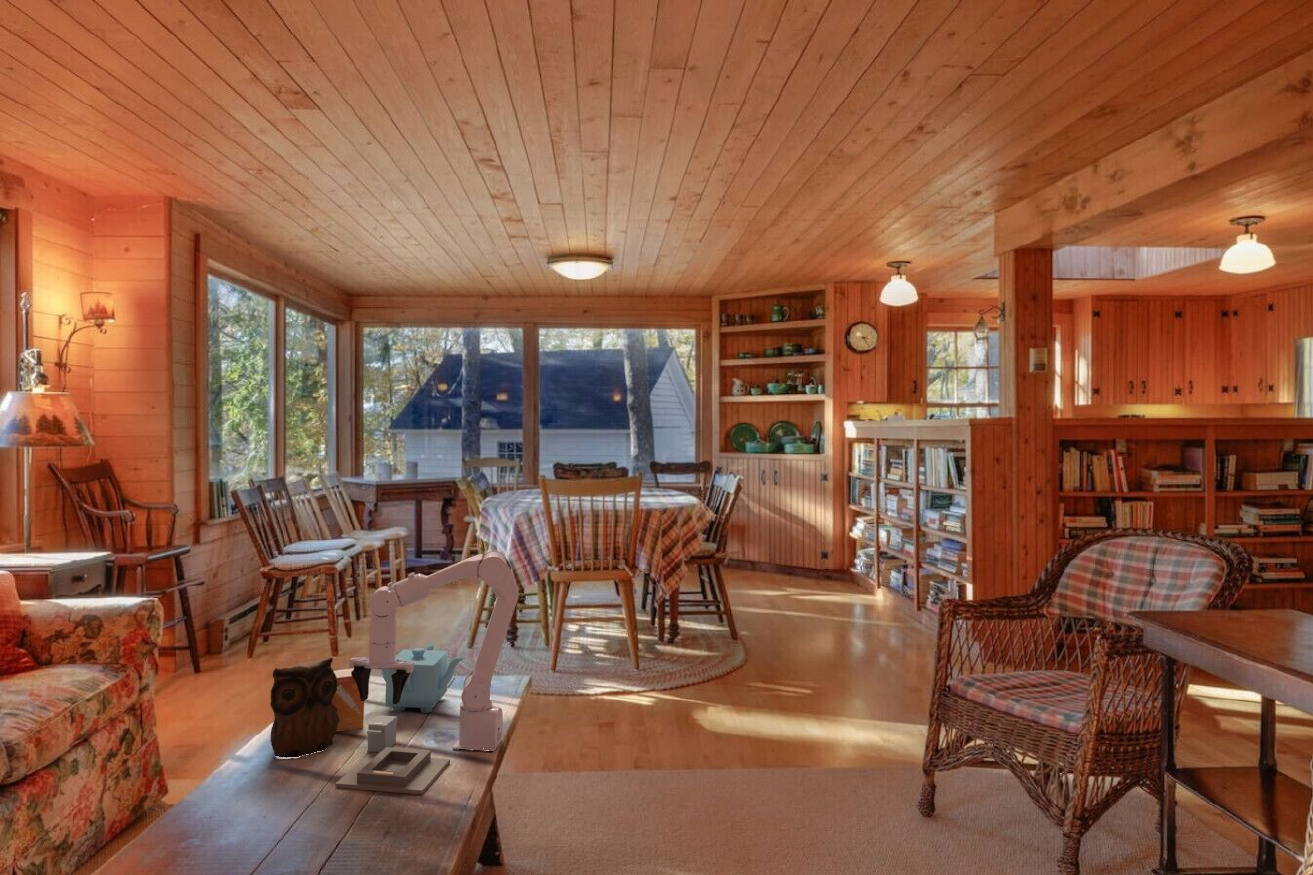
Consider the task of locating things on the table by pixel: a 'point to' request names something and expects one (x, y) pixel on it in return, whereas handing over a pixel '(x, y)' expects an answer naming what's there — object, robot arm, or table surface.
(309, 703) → the owl
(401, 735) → the table surface
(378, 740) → the block
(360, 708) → the small box
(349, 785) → the chassis
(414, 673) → the teakettle
